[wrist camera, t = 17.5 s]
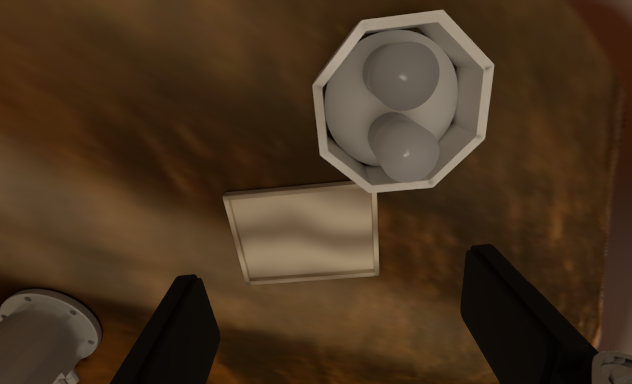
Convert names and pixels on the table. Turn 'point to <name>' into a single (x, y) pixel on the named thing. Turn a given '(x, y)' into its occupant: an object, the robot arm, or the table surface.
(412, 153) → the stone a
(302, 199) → the tray
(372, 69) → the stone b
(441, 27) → the bowl
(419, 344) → the table surface
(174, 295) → the robot arm
